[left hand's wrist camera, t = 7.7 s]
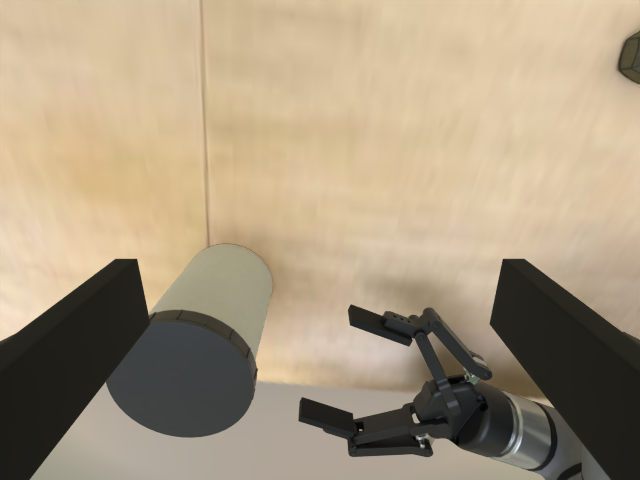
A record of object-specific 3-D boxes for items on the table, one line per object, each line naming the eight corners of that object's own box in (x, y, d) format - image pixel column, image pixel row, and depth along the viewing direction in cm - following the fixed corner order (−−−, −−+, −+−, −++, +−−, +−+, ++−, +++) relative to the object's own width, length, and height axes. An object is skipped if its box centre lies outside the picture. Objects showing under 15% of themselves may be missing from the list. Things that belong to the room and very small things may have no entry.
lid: (88, 329, 27) (74, 343, 25) (225, 291, 25) (219, 303, 24) (155, 433, 31) (146, 450, 29) (276, 404, 29) (274, 420, 28)
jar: (172, 257, 40) (89, 343, 26) (255, 233, 39) (217, 309, 25) (207, 328, 44) (152, 439, 29) (284, 308, 43) (266, 412, 28)
